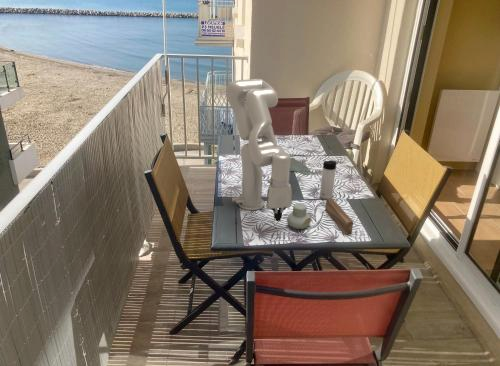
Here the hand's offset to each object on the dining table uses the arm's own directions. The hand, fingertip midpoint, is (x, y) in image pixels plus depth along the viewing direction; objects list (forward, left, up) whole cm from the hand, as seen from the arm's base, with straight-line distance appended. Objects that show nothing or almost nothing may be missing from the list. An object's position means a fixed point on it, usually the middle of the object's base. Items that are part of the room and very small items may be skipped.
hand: (277, 219), depth 181 cm
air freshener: (+10, 0, -5) cm, 11 cm away
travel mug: (+33, +23, -4) cm, 40 cm away
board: (+29, 0, -4) cm, 29 cm away
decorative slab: (+29, +65, -5) cm, 72 cm away
